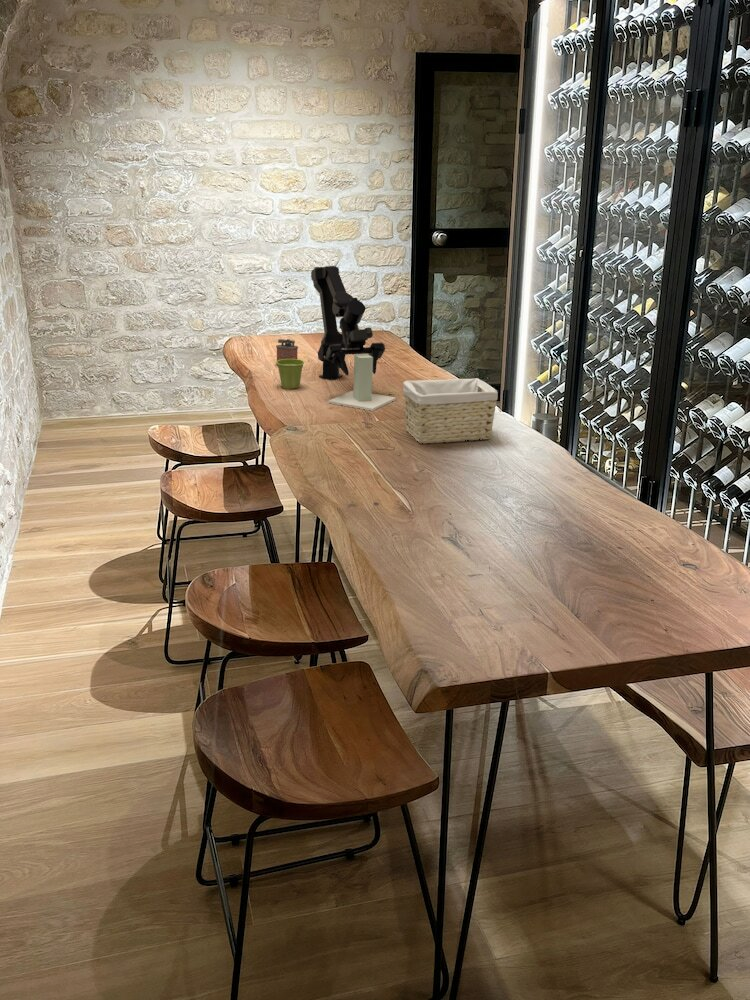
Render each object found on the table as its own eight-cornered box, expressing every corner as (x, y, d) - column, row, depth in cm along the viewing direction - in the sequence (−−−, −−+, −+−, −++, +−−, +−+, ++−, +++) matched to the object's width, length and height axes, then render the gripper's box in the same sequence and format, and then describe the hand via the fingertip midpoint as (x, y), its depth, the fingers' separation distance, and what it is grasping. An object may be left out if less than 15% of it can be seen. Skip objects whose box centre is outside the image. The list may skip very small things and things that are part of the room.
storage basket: (415, 446, 239) (418, 394, 234) (399, 428, 254) (401, 379, 248) (496, 442, 245) (500, 391, 240) (475, 425, 260) (479, 377, 254)
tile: (353, 392, 290) (353, 390, 289) (395, 399, 283) (395, 397, 282) (328, 403, 276) (328, 400, 276) (372, 411, 270) (372, 408, 269)
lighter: (298, 365, 323) (298, 338, 320) (297, 367, 320) (297, 340, 316) (277, 364, 324) (277, 337, 320) (275, 366, 321) (275, 339, 317)
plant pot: (300, 391, 289) (300, 365, 285) (272, 389, 290) (272, 363, 287) (307, 384, 297) (307, 359, 294) (281, 382, 299) (281, 357, 296)
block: (366, 396, 282) (367, 354, 277) (371, 400, 278) (373, 357, 273) (353, 397, 280) (354, 355, 275) (358, 401, 276) (359, 358, 271)
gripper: (329, 319, 273) (339, 362, 268) (384, 317, 279) (395, 359, 274) (321, 339, 283) (331, 380, 277) (375, 337, 289) (385, 377, 284)
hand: (361, 374), depth 278 cm, fingers open, 9 cm apart
